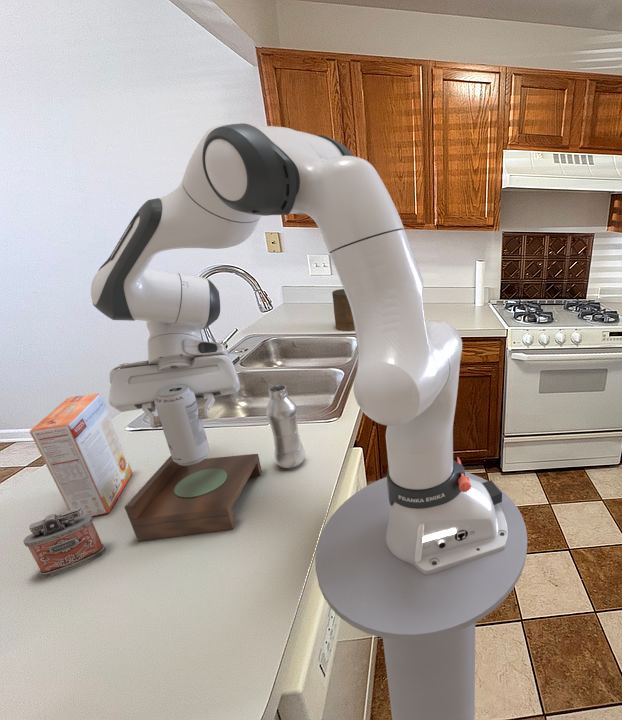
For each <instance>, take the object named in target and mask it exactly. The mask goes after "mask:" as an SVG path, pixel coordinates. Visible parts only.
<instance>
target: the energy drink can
mask: <svg viewBox="0 0 622 720" xmlns="http://www.w3.org/2000/svg"><path fill="white" fill-rule="evenodd" d="M156 395H157V396H156V398H155V401H154V403H155V411H156V412H157V416H159V419H160V422H161V425H162V427H161V428H162V431H163V434H164V437H165V440H166V443H167V447H168V450H169V453H170V456H172V459H173V461H174V462H176V463H178V464H179V465H182V466H187V465H193V464H196V463H198V462H200V461H202V460H204V459H207V457H208V455H209V453H210V450H211V449H210V444H209V440H208V438H207V433H206V430H205V427H204V423H203V419H202V420H201V419H199V417H198V414H199V413H198V409H200V408H199V405H198V400H196V398H195V394H194V392H193V391H191V390H190V389H189V388H188V385H186V384H175V385H170V386H166V387H163V388H161V389H159V390H158V391H156Z"/></svg>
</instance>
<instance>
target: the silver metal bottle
mask: <svg viewBox="0 0 622 720" xmlns="http://www.w3.org/2000/svg"><path fill="white" fill-rule="evenodd" d="M267 391H268V398H269V399H270V400H269V401H268V403H267V406H266V408H265V416H266V418H267V421H268V423H269V425H270V429H271V432H272V436H273V442H274V461H275V462H276V464H277V466H279V467H280V468H282V469H293V468H295V467H298V466H299V465H301V464H302V463H303V461H304V459H305V457H306V455H305V454H306V450H305V448H304V445H303V443H302V440H301V435H300V433H299V426H298V425H299V424H298V407H297V404H296V403H295V401H294V400H292V399H291V398H290V397H288V396H289V392H288V390H287V386H286V385H283V384H278V385H276V384H275V385H273V386H270V387H269V388H268V389H267Z"/></svg>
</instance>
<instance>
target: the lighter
mask: <svg viewBox="0 0 622 720" xmlns="http://www.w3.org/2000/svg"><path fill="white" fill-rule="evenodd" d="M82 515H83V511H82V508H79V507H78V508H75V509H72V510H69V509H68V510H66V511H63V512H61V513H59V514H56V513H51V514H49V515H47V516H45V517H44V519H42V520H39V521H36V522H33V523H31V524H29V525H28V529H29V530H30V534H28V535H27V536H25V538H24V539H23V545H24V546H25V547H26V548H28V550H29V551H30V552H29V553H31V556H32V558H33V559H34V561H35V562H36V565H37V566H38V568H39V574H40V575H41V577H42V578H50V577H53V576H56V575H60V574H63V573H65V572H68V571H71V570H73V569H76V568H78V567H80V566H83V565H85V564H86V563H87V564H88V563H89V562H91V561H94V560H95V559H97V558H100V557H101V556H103V554H105V552H106V551H107V548H106V546H105V544H104V543H102V540H101V538H100V536H99V534H98V532H97V529H96V526H95V525H94V519H93V517H92V516H91V515H83V516H82Z"/></svg>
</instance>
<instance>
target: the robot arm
mask: <svg viewBox="0 0 622 720" xmlns="http://www.w3.org/2000/svg"><path fill="white" fill-rule="evenodd" d="M292 214H294V215H307V216H308V217H310V218H311V219H312V221H314V223H315V224H316V226H317V227H318V230H319V231H320V234H321V236H322V239H323V242H324V244H325V247H326V249H327V252H328V253H329V256H330V257H329V258H330V259H331V262H332V264H333V266H334V269H335V272H336V273H337V276H338V278H339V281H340V283H341V285H342V289H344V291H345V293H346V296H347V299H348V301H349V304H350V308H351V311H352V315H353V320H354V326H355V330H354V332H355V340H356V349H357V367H356V373H355V377H354V381H353V395H354V399H355V401H356V404H357V405H358V407H359V409H360V411H362V413H364V414H365V416H367V417H368V418H369V419H370V420H371V421H373V422H375V423H377V424H380V425H383V426H386V430H385V444H386V456H387V466H388V467H387V470H386V476H385V477H386V484H387V494H388V498H389V503H390V515H389V522H388V526H387V530H386V534H385V540H386V544H387V547H388V549H389V550H390V552H391V553H392V554H393V555H394V556H396V557H397V558H399V559H401V560H403V561H405V562H408V563H410V564H412V565H414V566H415V567H416V568H417V569H418V570H419V571H420V572H421V573H422V574H424V575H430V574H433V573H436V572H439V571H442V570H445V569H448V568H451V567H454V566H457V565H460V564H463V563H466V562H469V561H472V560H475V559H478V558H481V557H484V556H487V555H490V554H494V553H496V552H499V551H502V550H504V549H505V547H506V544H507V541H508V529H507V523H506V519H505V516H504V514H503V511H502V509H501V508H500V506H499V504H498V503H501V502H502V492H501V491H500V490H499V489H498V488H497V487H498V486H497V485H496V484H495V483H494V481H493V480H487V482H484V483H480V482H478V481H476V480H473V479H471V478H469V477H467V476H465V472H466V470H465V466H464V465H463V464H462V461H461V459H460V458H459V456H457V457H456V459H457V461H456V460H455V459H454V421H455V415H456V407H457V398H458V389H459V381H460V379H459V378H460V369H461V368H460V366H461V359H462V353H463V339H462V337H461V335H460V333H459V331H458V330H457V328H456V327H455V326H454V325H453V324H451V323H450V322H448V321H447V320H444V319H441V318H429V319H426V317H425V311H424V309H425V308H424V302H423V301H424V296H423V295H424V279H423V276H422V274H421V272H420V269H419V266H418V263H417V260H416V257H415V254H414V251H413V249H412V245H411V243H410V241H409V238H408V235H407V232H406V230H405V226H404V224H403V221H402V219H401V216H400V214H399V212H398V210H397V207H396V205H395V203H394V200H393V199H392V196H391V194H390V192H389V191H388V188H387V187H386V185H385V183H384V181H383V179H382V177H380V174H379V173H378V172H377V170H376V168H375V167H374V166H373V164H371V162H369V161H368V160H366V159H364V158H362V157H358V156H355V155H353V153H352V152H351V150H350V149H348V147H346V146H345V145H344V144H343V143H341V142H339V141H338V140H336V139H334V138H331V137H330V136H326V135H322V134H313V133H309V132H305V131H301V130H295V129H293V128H290V127H287V126H286V127H285V126H277V125H275V126H274V125H253V124H249V123H244V122H243V123H230V124H227V123H226V124H225V123H223V124H217V125H215V126H214V125H213V126H212V127H210V128H209V129H207V130H206V131H205V133H204V135H203V136H202V137H201V138H200V140H199V141H198V143H197V145H196V147H195V149H194V150H193V152H192V154H191V155H190V158H189V160H188V162H187V165H186V167H185V170H184V174H183V176H182V179H181V182H180V184H179V185H178V186H177V187H176V188H175V189H174V190H172V191H171V192H169V193H167V194H166V195H163V196H161V197H156V198H152V199H147V200H146V201H145V202H144V203H143V204H142V205H141V206H140V208H139V209H138V210H137V212H136V213H135V214H134V216H133V218H131V220H130V222H129V223H128V224H127V227H126V228H125V230H124V232H123V234H122V235H121V237H120V239H119V240H118V242H117V244H116V246H115V247H114V249H113V250H112V251H111V254H110V255H109V257H108V258H107V260H105V261H104V263H103V264H101V266H100V267H99V268H98V270H97V272H96V273H95V274H94V276H93V279H92V281H91V285H90V297H91V302H92V305H93V307H95V308H96V310H97V311H99V312H100V313H102V314H103V315H104V316H106V317H107V318H109V319H111V320H112V321H128V322H131V321H133V322H134V321H143V322H146V328H147V330H148V333H149V337H148V339H147V360H140V361H135V362H124V363H120V364H119V365H118V366H116V367H114V368H112V369H111V370H110V371H109V383H110V386H109V387H110V388H109V394H108V395H109V396H108V403H109V405H110V406H111V407H112V408H113V409H114V410H116V411H118V412H120V413H124V412H131V411H136V410H142V411H143V412H144V414H145V415H146V416H147V417H148V418H149V420H150V427H151V429H159V428H162V425H161V422H160V419H159V416H158V415H155V414H154V412H156V406H155V403H154V401H155V398H156V396H157V395H156V391H158V390H159V389H161V388H163V387H166V386H170V385H175V384H186V385H188V388H189V389H190V390H191V391H193V392H194V394H195V398H196V401H198V400H204V401H205V403H204V405H203V406H202V408H201V407H200V408H199V409H198V413H199V414H198V417H199V419H201V420H202V421H203V420H207V419H210V411H211V409H212V407H213V406H214V404H215V402H216V399H215V398H216V397H221V396H227V395H234V394H237V393H238V392H239V391H240V390H241V382H240V377H239V374H238V372H237V369H236V367H235V365H234V363H233V361H232V359H231V356H230V353H229V351H228V349H227V347H226V346H225V345H224V343H221V342H214V341H206V340H205V341H204V340H202V338H201V336H200V335H201V334H200V333H201V330H206V329H207V328H208V327H210V326H211V325H212V324H213V323H215V322H216V321H217V320H218V319H219V317H220V314H221V297H220V291H219V289H218V288H217V287H216V285H215V284H214V282H212V281H211V280H210V279H209V278H205V277H202V276H198V275H193V274H188V273H187V274H186V273H180V272H171V271H167V270H161V269H154V268H148V267H149V265H150V264H151V262H152V261H153V260H154V258H155V256H156V255H158V254H160V253H161V252H165V251H170V250H179V249H207V250H209V249H210V250H211V249H213V250H220V249H228V248H232V247H235V246H238V245H240V244H242V243H245V242H246V241H247V240H248V239H249V238H250V237H251V236H252V235H253V234H254V231H255V230H256V228H257V226H258V224H259V223H260V221H261V218H262V216H263V217H265V216H266V217H267V216H288V215H292ZM501 535H503V536H501ZM433 564H436V565H433Z"/></svg>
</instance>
